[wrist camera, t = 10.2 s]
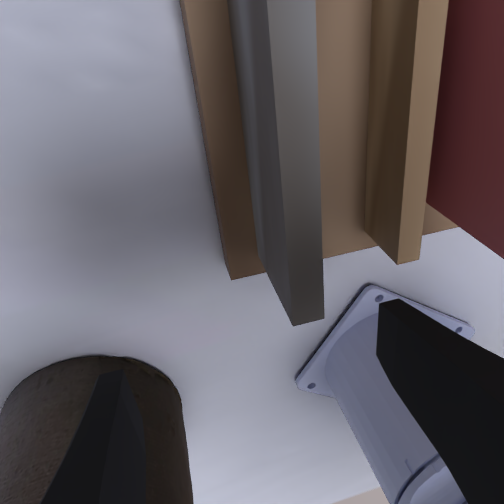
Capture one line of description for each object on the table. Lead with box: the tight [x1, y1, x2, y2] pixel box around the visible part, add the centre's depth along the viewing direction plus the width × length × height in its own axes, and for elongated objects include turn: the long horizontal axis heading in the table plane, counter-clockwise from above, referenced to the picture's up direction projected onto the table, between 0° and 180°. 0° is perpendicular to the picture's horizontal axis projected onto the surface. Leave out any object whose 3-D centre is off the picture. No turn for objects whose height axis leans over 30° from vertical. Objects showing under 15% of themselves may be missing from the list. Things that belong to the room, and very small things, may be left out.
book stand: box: [180, 0, 459, 326], centre depth 16 cm, size 18×14×6 cm
